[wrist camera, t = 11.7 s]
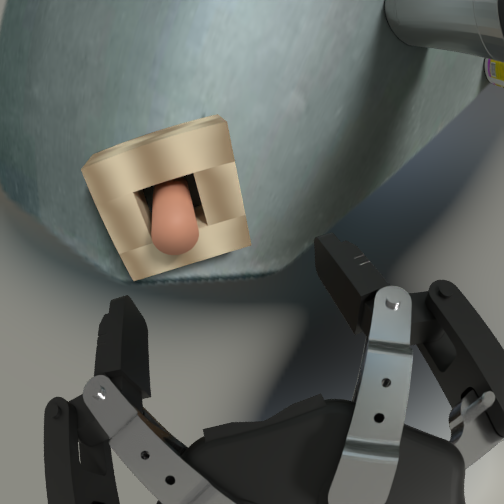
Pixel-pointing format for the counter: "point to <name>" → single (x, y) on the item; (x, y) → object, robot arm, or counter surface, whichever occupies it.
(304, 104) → the counter surface
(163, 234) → the peg
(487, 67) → the supplement bottle
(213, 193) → the socket block
